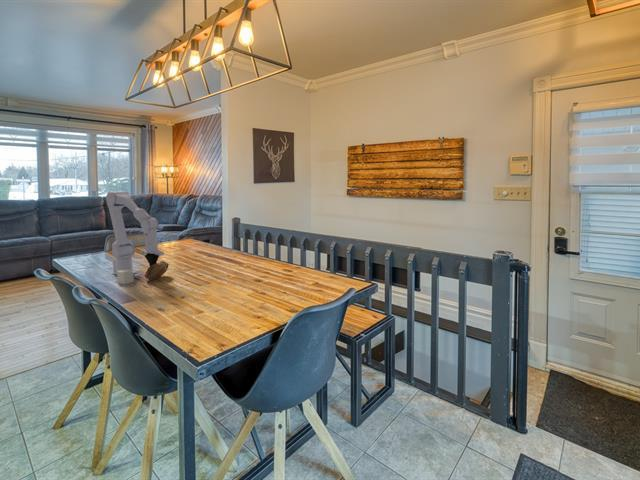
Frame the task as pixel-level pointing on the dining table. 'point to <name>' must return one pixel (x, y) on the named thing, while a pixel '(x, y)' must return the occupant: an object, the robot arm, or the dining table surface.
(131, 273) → the grey block
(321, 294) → the dining table surface
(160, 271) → the tin
